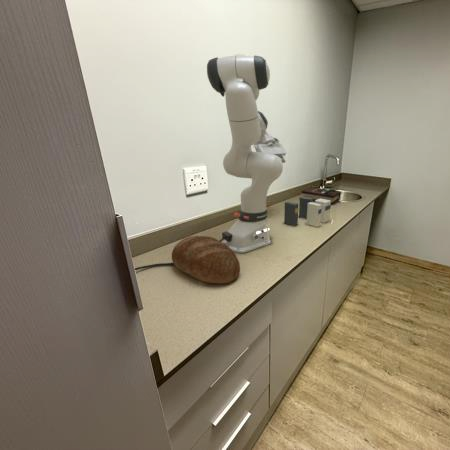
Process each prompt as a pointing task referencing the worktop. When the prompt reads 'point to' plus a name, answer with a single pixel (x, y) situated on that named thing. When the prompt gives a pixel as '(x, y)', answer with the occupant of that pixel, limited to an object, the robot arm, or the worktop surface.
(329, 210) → the white book
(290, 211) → the grey book left
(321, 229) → the worktop surface
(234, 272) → the bread
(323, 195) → the decorative book
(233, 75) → the robot arm
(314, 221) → the white book
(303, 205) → the grey book right
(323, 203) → the white book
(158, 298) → the worktop surface
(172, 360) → the worktop surface
